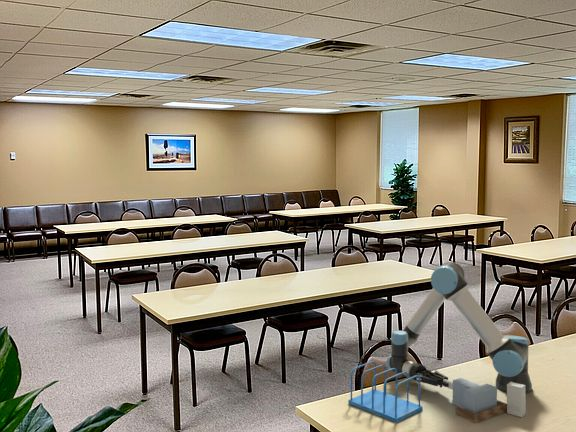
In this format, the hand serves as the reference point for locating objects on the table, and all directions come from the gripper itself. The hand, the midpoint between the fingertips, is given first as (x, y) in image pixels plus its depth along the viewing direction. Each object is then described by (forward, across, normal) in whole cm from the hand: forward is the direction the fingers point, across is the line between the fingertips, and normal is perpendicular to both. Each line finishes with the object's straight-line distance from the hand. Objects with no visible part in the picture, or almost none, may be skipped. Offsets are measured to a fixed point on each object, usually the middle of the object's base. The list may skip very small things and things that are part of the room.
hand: (456, 387), depth 243 cm
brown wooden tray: (+12, 0, -6) cm, 14 cm away
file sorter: (-13, +28, -7) cm, 31 cm away
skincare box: (+22, -10, -7) cm, 25 cm away
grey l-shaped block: (+8, 0, -6) cm, 10 cm away
